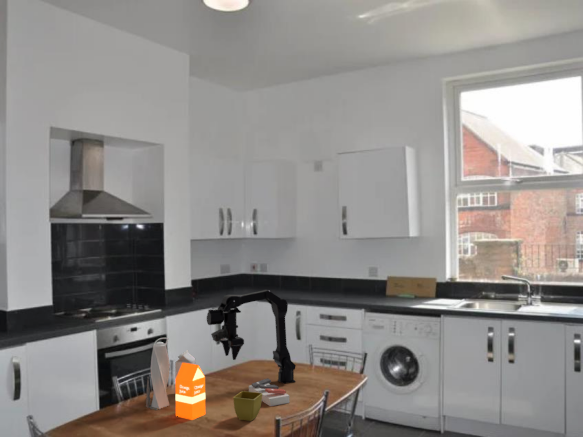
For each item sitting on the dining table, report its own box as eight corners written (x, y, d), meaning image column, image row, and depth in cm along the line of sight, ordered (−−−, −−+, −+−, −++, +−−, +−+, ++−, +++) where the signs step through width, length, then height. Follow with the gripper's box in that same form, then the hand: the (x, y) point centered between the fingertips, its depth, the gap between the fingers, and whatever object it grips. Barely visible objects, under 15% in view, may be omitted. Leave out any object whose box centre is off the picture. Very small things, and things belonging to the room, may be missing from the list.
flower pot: (263, 416, 205) (262, 392, 206) (254, 423, 197) (254, 399, 197) (242, 413, 208) (242, 390, 209) (232, 421, 200) (232, 397, 200)
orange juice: (192, 420, 202) (191, 367, 203) (175, 416, 207) (174, 364, 207) (205, 414, 209) (205, 362, 209) (189, 410, 213) (188, 360, 214)
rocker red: (281, 391, 226) (282, 388, 226) (285, 393, 223) (286, 391, 223) (265, 390, 222) (265, 388, 223) (268, 393, 219) (269, 390, 219)
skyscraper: (160, 402, 225) (160, 336, 226) (174, 405, 220) (173, 338, 221) (145, 408, 218) (144, 339, 219) (158, 411, 213) (157, 341, 214)
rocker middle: (274, 387, 232) (275, 384, 232) (278, 389, 229) (278, 386, 229) (258, 386, 229) (258, 384, 229) (261, 388, 226) (262, 386, 226)
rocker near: (267, 380, 239) (267, 378, 238) (271, 382, 235) (270, 379, 235) (251, 385, 235) (251, 383, 235) (255, 388, 232) (254, 385, 232)
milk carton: (195, 392, 237) (195, 349, 238) (191, 397, 230) (190, 353, 231) (180, 392, 238) (180, 349, 239) (175, 397, 231) (175, 353, 232)
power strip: (261, 386, 246) (261, 379, 246) (289, 402, 221) (289, 395, 221) (243, 389, 241) (243, 382, 241) (270, 406, 217) (269, 398, 217)
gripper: (206, 321, 245) (206, 355, 245) (220, 327, 229) (220, 364, 228) (229, 319, 250) (229, 353, 250) (244, 325, 234) (244, 361, 234)
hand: (230, 357), depth 240 cm, fingers open, 9 cm apart
